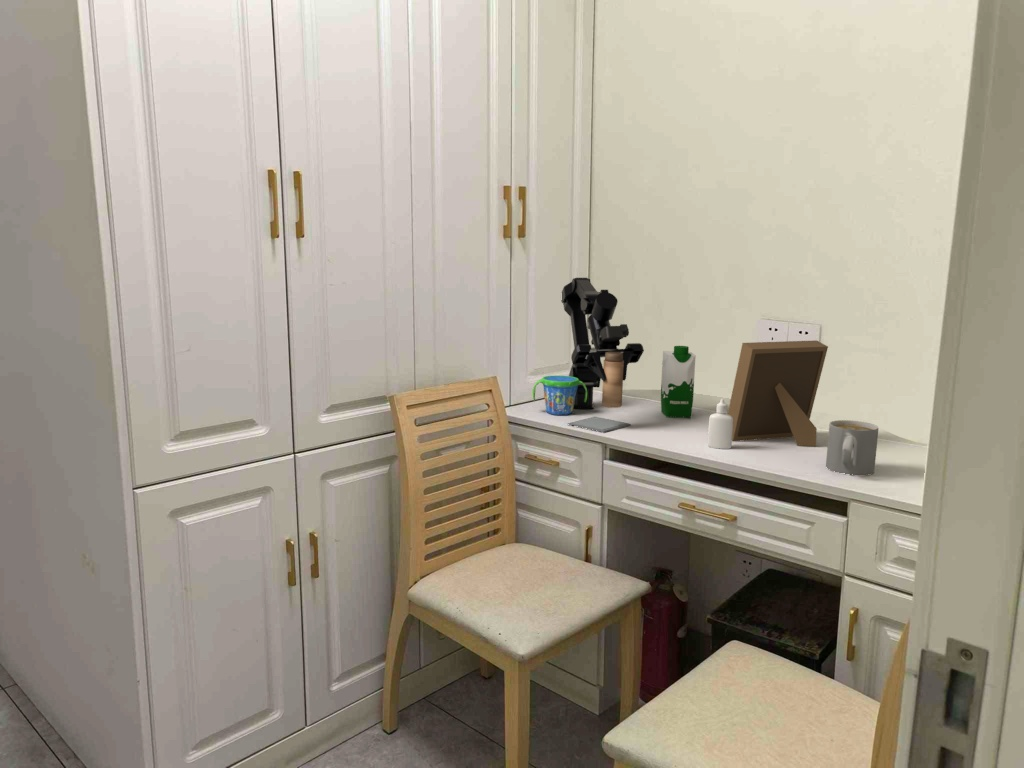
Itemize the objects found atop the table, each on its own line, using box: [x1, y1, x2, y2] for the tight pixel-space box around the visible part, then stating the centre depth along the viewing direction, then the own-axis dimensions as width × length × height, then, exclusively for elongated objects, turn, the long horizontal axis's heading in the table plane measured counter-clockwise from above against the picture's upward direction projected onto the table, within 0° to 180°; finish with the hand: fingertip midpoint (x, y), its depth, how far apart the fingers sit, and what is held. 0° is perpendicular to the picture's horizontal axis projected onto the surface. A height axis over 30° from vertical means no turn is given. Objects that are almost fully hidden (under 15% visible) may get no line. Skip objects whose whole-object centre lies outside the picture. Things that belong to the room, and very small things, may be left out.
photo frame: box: [727, 339, 829, 447], centre depth 201 cm, size 15×22×25 cm
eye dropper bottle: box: [707, 398, 733, 450], centre depth 195 cm, size 4×6×12 cm
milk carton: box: [660, 345, 697, 418], centre depth 230 cm, size 9×9×20 cm
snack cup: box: [532, 375, 587, 416], centre depth 231 cm, size 16×10×10 cm
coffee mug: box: [825, 419, 879, 476], centre depth 177 cm, size 13×10×10 cm
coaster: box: [567, 416, 631, 433], centre depth 217 cm, size 12×12×1 cm
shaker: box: [601, 352, 624, 409], centre depth 212 cm, size 5×5×14 cm
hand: (614, 379), depth 211 cm, fingers closed on shaker, 5 cm apart
